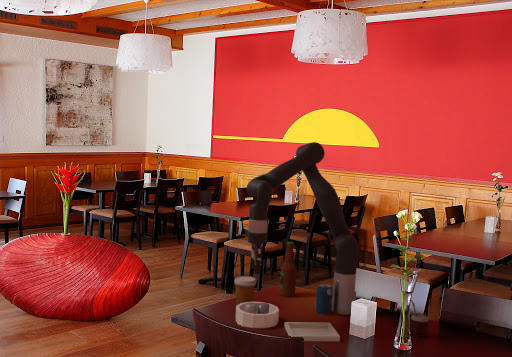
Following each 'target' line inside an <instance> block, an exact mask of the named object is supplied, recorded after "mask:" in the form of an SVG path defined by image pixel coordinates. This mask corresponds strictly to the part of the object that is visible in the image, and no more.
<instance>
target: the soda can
mask: <svg viewBox="0 0 512 357" xmlns="http://www.w3.org/2000/svg"><path fill="white" fill-rule="evenodd" d="M332 286H333V285H332V284H330V283H322V282H321V283H318V285H317V287H316V291H315V303H314V304H315V306H314V308H315V310H314V311H315V312H316V314H318V315H320V316H327V315H330V314H331V313H332V312H333V311H332V299H333V287H332Z"/></svg>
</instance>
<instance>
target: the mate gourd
mask: <svg viewBox="0 0 512 357" xmlns="http://www.w3.org/2000/svg"><path fill="white" fill-rule="evenodd" d="M410 300H411V301H410V302H411V304H412V307H413V312H414V313H413V314H412V315H411V317H410V320H409V324H410V327H409V328H410V332H411V333H414V334H416V335H415V336H417V335H426V336H427V334H428V331H429V326H430V320H429V317H428V316H427V314H424V313H421V312H420V313H419V312H416V311H417V310H416V307H415V306H416V305H415V302H414V301H413V300H412V299H410ZM411 333H410V334H411Z"/></svg>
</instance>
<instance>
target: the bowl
mask: <svg viewBox="0 0 512 357" xmlns="http://www.w3.org/2000/svg"><path fill="white" fill-rule="evenodd" d="M246 303H256V304H257V310H258V303H264V302H262V301H252V302H245V303H240V304H239V305H237V304H236V306H235V323H236V322H237V323H236V324H237V325H238V326H240V325H241V327H243V328H252V329H268V328H272V327H275V326H276V325H277V324H278V322H279V316H280V314H279V313H280V309H279V308H278V306H276V305H274V304H272V303H267V302H266V303H267V304H269V313H268V314H252V313H247V312H245V304H246Z"/></svg>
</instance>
